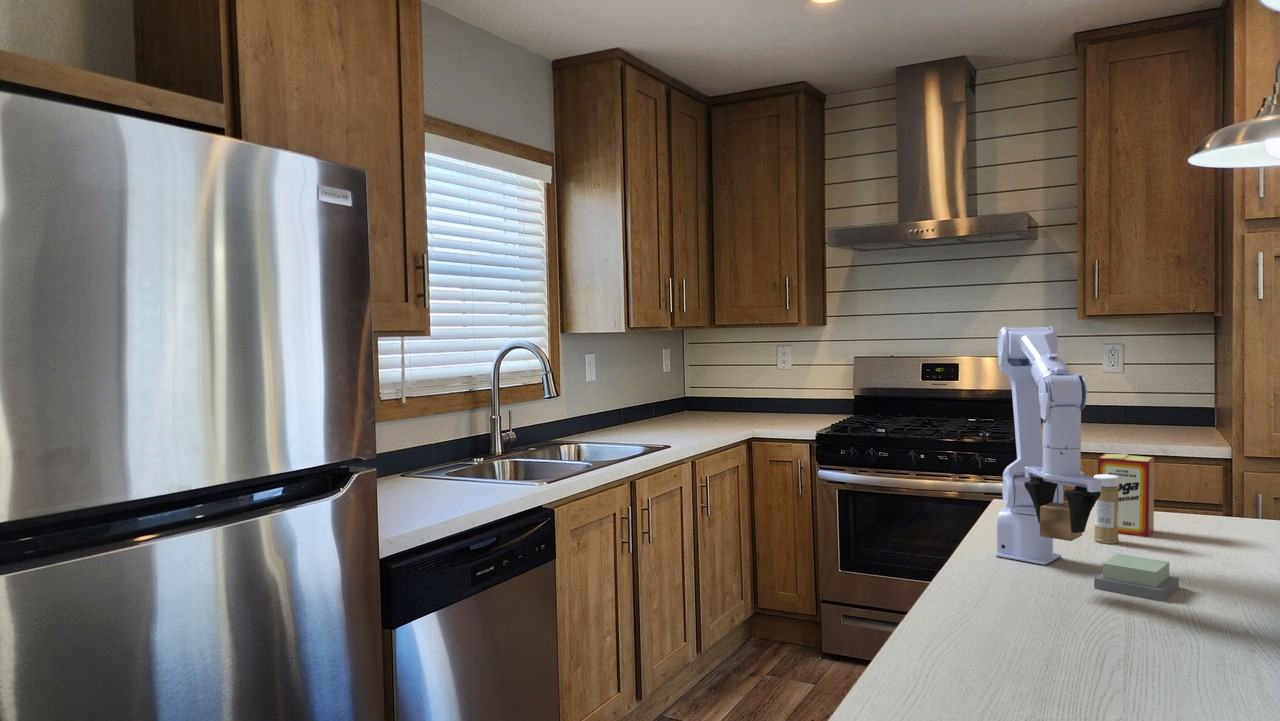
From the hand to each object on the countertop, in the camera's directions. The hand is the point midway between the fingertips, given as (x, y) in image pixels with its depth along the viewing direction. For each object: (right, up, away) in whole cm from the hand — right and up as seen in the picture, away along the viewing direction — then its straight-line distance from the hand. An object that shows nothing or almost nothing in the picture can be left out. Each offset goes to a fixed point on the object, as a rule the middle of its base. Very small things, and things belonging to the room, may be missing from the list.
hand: (1061, 527), depth 149 cm
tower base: (+13, -11, 0) cm, 17 cm away
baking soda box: (+32, -8, +39) cm, 51 cm away
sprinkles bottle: (+24, -9, +31) cm, 40 cm away
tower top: (+13, -9, 0) cm, 15 cm away
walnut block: (0, -1, 0) cm, 1 cm away
